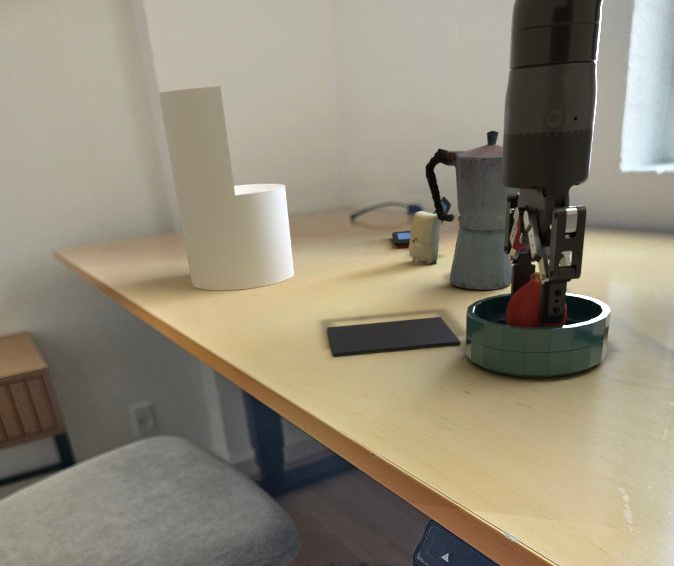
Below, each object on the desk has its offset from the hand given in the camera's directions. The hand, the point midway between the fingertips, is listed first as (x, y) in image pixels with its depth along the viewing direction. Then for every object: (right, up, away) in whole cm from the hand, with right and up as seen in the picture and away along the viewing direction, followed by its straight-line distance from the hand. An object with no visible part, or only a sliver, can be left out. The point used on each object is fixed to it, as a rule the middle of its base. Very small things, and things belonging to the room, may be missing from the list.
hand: (535, 311), depth 64 cm
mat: (-13, -1, +11) cm, 18 cm away
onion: (0, -4, +2) cm, 4 cm away
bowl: (0, -4, +2) cm, 5 cm away
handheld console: (-3, +27, +65) cm, 70 cm away
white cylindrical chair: (-35, +15, +46) cm, 60 cm away
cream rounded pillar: (-4, +18, +47) cm, 50 cm away
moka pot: (+1, +10, +31) cm, 33 cm away
